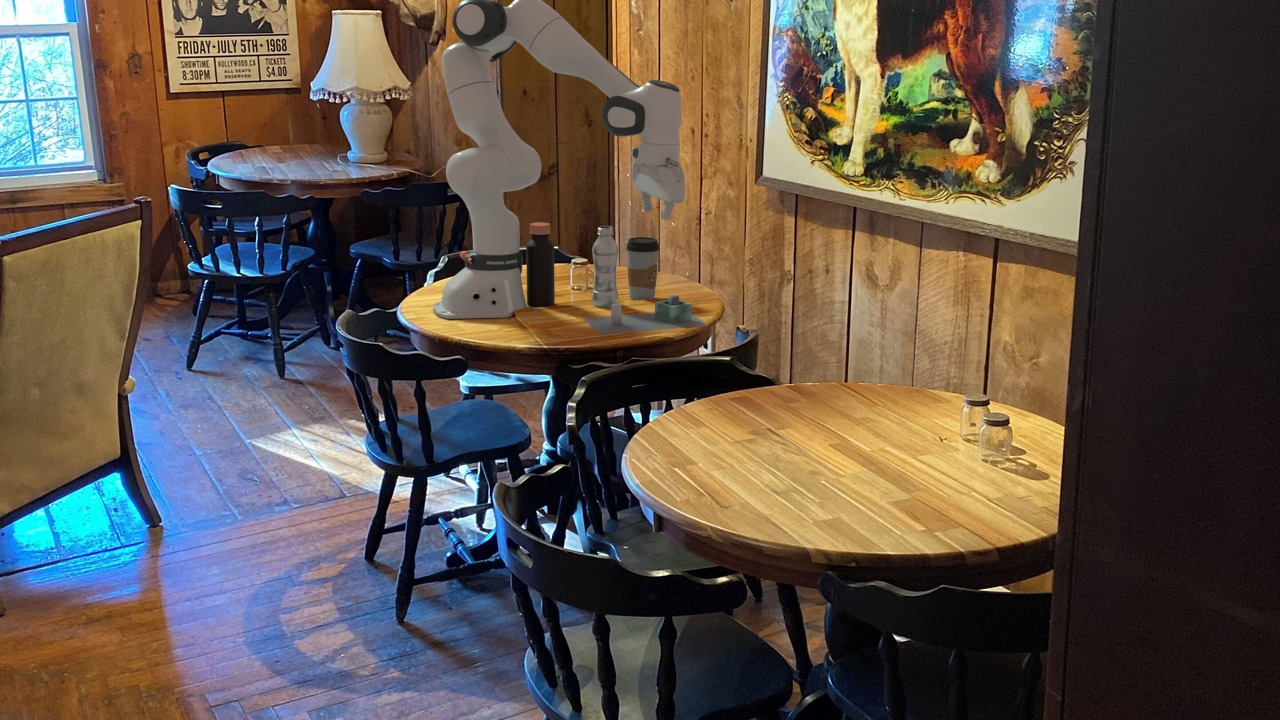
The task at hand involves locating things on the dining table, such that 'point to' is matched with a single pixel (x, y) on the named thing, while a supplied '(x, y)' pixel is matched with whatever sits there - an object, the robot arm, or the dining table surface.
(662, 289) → the dining table surface
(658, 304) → the collar
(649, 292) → the coffee cup
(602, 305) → the plastic bottle
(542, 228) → the vinegar
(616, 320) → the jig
